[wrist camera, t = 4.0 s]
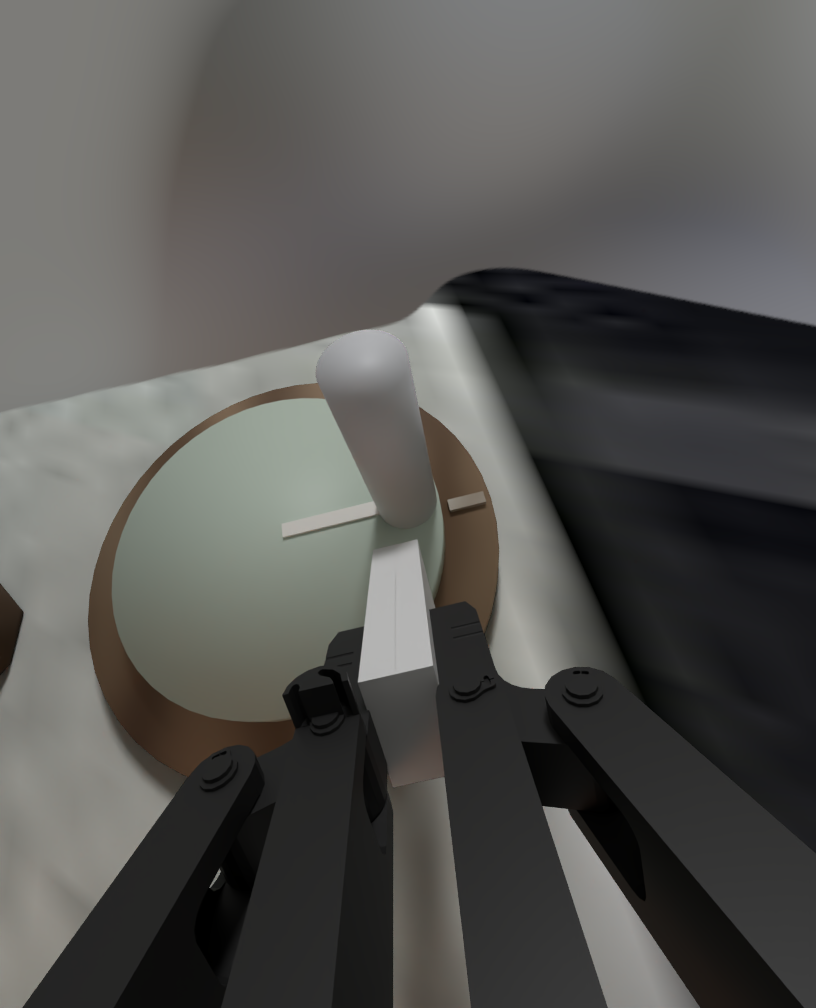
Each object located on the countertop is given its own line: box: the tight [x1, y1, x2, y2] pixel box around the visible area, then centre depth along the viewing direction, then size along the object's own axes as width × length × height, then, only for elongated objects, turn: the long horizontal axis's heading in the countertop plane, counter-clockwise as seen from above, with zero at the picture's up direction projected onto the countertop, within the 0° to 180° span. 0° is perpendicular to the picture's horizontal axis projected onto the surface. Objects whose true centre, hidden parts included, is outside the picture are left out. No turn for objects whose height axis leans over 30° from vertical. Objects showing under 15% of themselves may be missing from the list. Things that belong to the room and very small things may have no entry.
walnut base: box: [88, 383, 499, 777], centre depth 24 cm, size 21×21×2 cm
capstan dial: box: [112, 330, 445, 722], centre depth 19 cm, size 16×16×11 cm
